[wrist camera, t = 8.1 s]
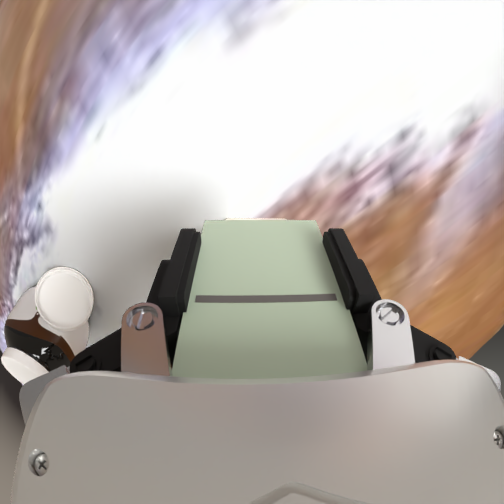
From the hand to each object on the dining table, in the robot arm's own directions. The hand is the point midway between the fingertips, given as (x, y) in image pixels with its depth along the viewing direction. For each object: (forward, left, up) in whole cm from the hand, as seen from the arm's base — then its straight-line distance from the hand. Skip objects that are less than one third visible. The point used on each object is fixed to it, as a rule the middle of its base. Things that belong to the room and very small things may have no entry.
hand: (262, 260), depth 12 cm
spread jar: (-22, +15, -12) cm, 30 cm away
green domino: (0, 0, -2) cm, 2 cm away
